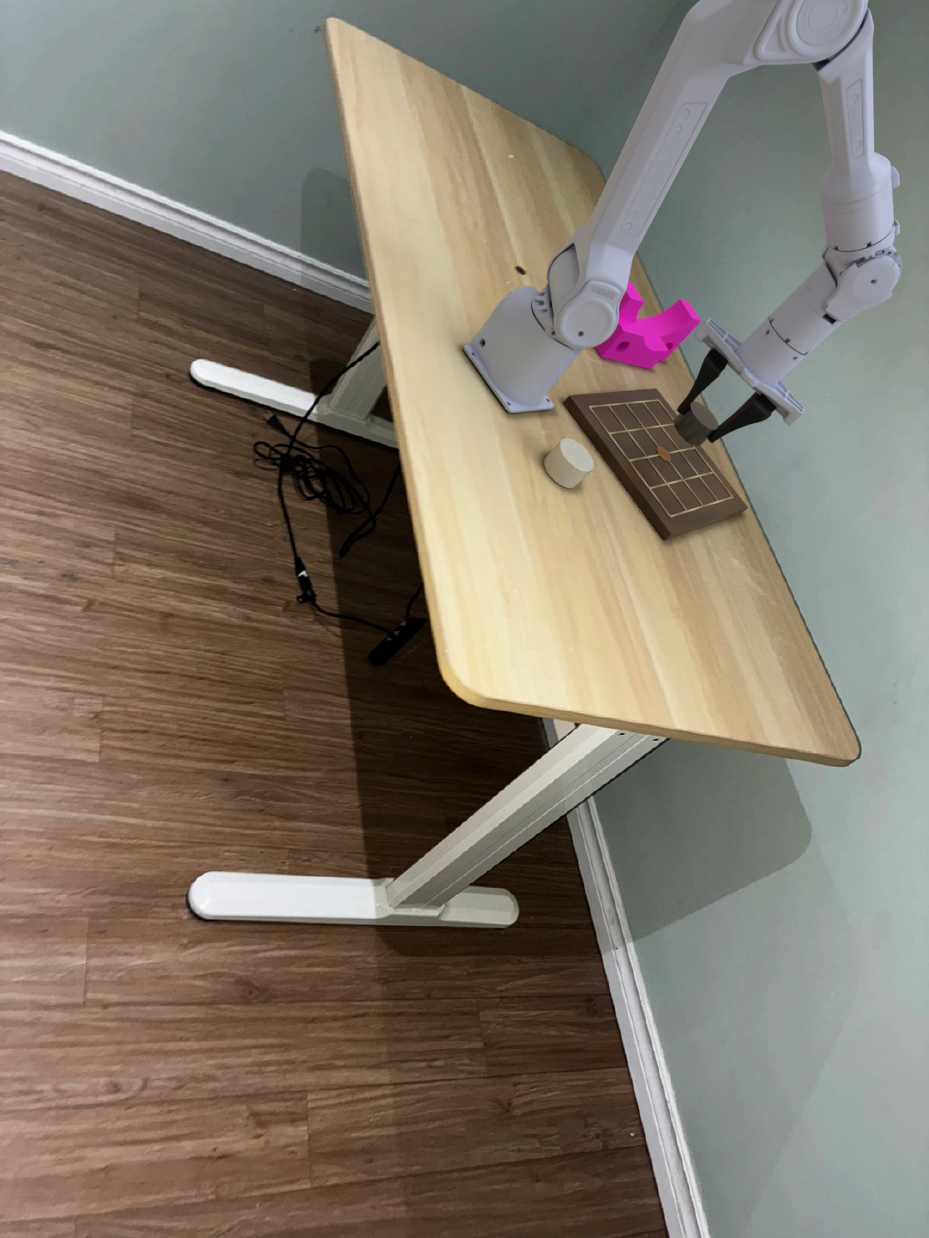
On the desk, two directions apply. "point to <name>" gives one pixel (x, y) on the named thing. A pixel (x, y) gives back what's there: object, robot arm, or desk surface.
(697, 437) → the black stone
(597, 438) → the board
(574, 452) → the white stone
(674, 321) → the toy block
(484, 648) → the desk surface
